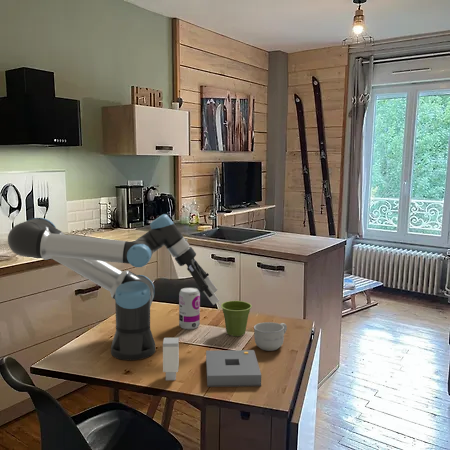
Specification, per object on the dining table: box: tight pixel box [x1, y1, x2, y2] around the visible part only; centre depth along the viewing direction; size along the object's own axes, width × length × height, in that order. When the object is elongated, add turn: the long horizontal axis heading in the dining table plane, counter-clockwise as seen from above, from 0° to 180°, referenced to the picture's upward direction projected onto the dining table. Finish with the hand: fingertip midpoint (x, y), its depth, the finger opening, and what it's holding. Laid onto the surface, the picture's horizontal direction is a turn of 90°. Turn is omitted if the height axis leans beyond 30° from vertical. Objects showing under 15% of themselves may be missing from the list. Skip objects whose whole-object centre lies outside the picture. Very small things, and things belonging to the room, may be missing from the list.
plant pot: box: [220, 300, 253, 337], centre depth 178 cm, size 12×12×11 cm
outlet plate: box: [205, 349, 262, 388], centre depth 146 cm, size 16×18×4 cm
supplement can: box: [178, 287, 201, 330], centre depth 185 cm, size 8×8×15 cm
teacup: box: [253, 321, 288, 352], centre depth 166 cm, size 14×11×8 cm
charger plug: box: [162, 337, 180, 381], centre depth 141 cm, size 4×4×12 cm
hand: (215, 297), depth 174 cm, fingers open, 13 cm apart
